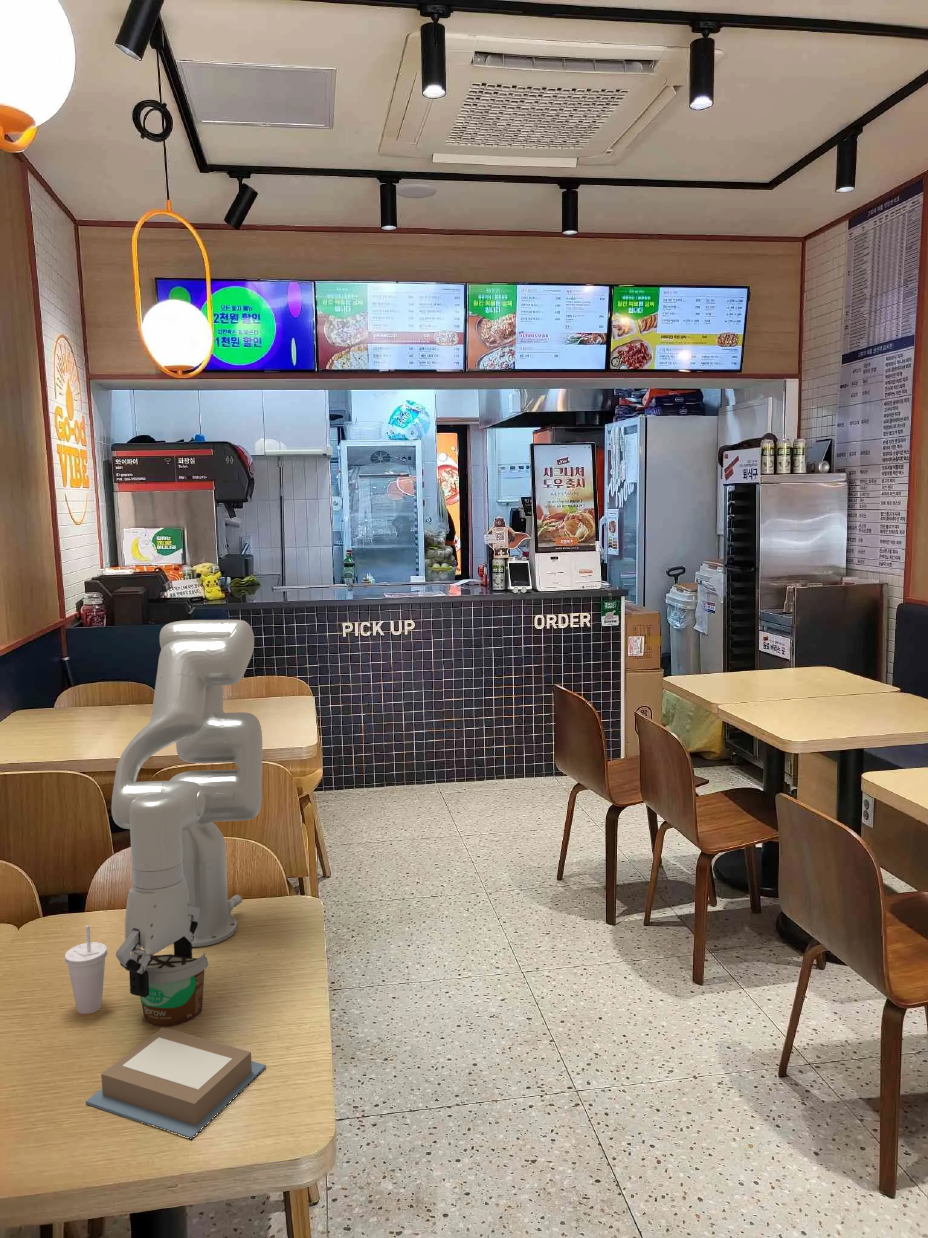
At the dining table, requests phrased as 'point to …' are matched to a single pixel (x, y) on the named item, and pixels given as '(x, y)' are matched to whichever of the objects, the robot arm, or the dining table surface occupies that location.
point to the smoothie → (87, 974)
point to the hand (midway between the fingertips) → (162, 980)
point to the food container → (173, 989)
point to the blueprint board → (175, 1081)
